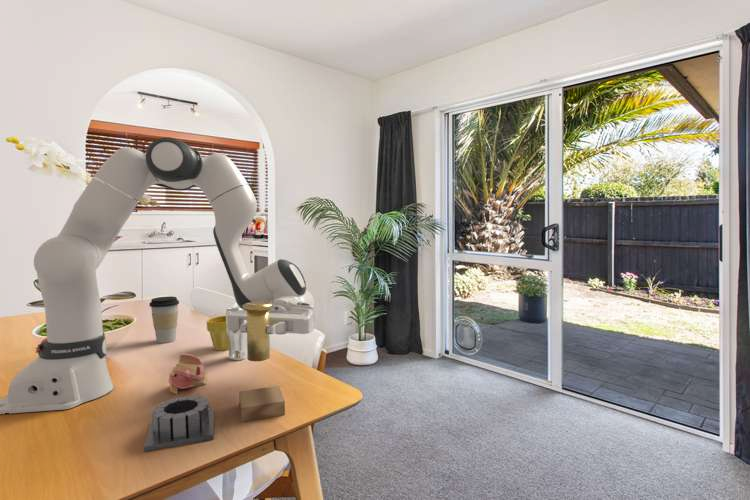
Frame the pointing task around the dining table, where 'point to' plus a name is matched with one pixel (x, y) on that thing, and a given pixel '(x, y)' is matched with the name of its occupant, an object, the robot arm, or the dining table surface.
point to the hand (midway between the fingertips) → (256, 329)
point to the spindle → (258, 330)
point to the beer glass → (236, 340)
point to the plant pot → (218, 332)
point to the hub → (180, 423)
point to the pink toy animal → (187, 373)
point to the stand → (261, 403)
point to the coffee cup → (165, 318)
